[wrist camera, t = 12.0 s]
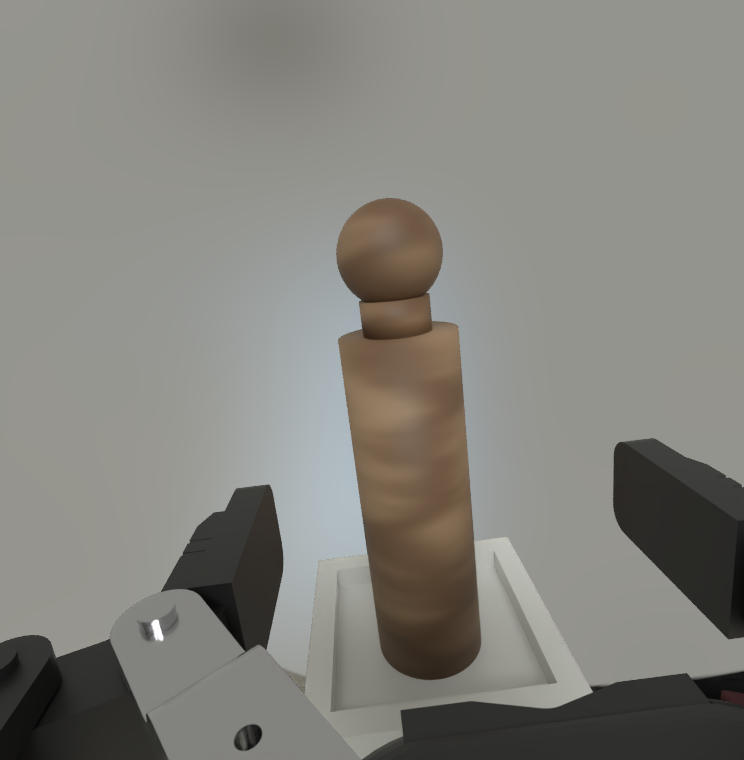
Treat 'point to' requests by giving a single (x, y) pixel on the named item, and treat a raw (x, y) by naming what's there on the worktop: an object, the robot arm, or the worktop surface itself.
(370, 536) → the pepper mill
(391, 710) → the plinth
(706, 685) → the worktop surface
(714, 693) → the worktop surface
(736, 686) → the worktop surface
